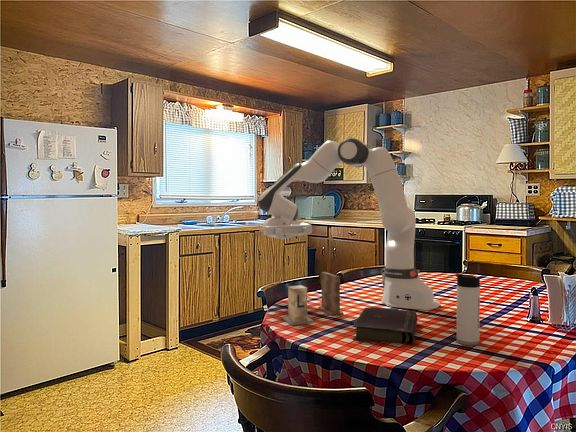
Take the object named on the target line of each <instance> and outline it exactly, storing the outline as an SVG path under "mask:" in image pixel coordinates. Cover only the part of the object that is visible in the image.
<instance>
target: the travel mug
mask: <svg viewBox="0 0 576 432" xmlns="http://www.w3.org/2000/svg"><path fill="white" fill-rule="evenodd" d="M455 277H456V342H457V343H458V344H460V345H464V346H473V345H474V346H478V345H480V343H481V342H480V338H481V337H480V332H481V331H480V325H481V324H480V323H481V321H480V319H481V318H480V315H481V312H480V311H481V310H480V309H481V305H480V304H481V286H480V285H481V284H480V282H481V279H480V277H477V276H474V275H470V274H469V275H468V274H459V273H456V274H455Z"/></svg>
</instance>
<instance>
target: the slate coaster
mask: <svg viewBox="0 0 576 432" xmlns="http://www.w3.org/2000/svg"><path fill="white" fill-rule="evenodd" d="M282 320H283V321H284V322H286V323H288V324H289V325H290V326H295V325H297V326H298V325H304V324H313V323H314V320H313V319H312V318H310V317H309V316H307V320H300V321H293V320H291V319H290V318H289V316H283V317H282Z"/></svg>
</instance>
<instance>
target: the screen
mask: <svg viewBox="0 0 576 432" xmlns="http://www.w3.org/2000/svg"><path fill="white" fill-rule="evenodd" d="M320 275H321V276H320V277H321V278H320V279H321V306H318V307H317V309H318V310H321V311H323V312H324V313H325V314H328V315H330V316H331V317H335V316H344V312H343V311H341V289H340V288H341V286H340V283H341V277H340V276H338V275H336V274H333V273H330V272H328V271H321V273H320Z"/></svg>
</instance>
